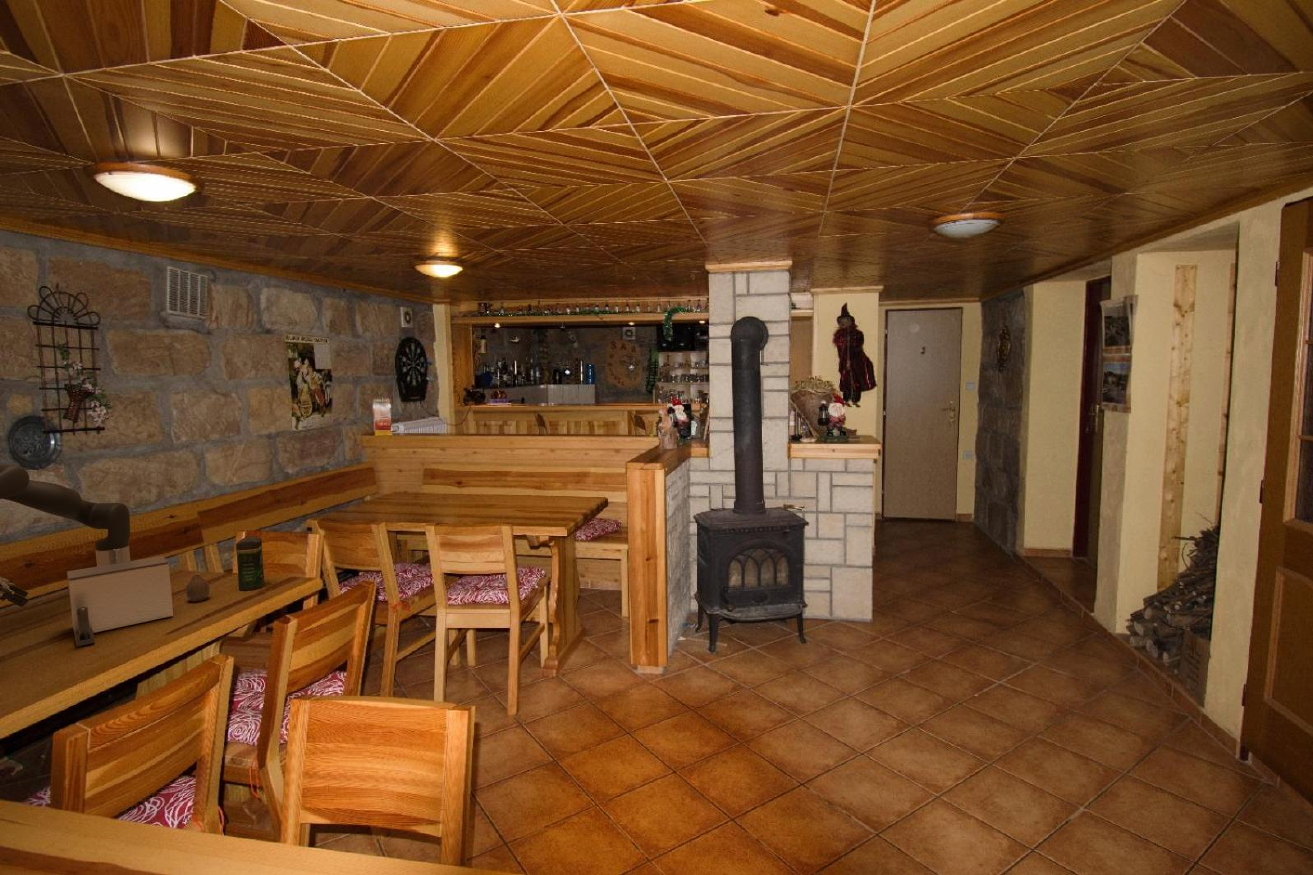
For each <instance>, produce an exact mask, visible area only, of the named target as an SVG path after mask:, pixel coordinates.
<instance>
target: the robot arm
mask: <svg viewBox="0 0 1313 875" xmlns="http://www.w3.org/2000/svg"><path fill="white" fill-rule="evenodd" d="M0 500H6V501H11V502H14V503H17V504H19V505H22V506H26V507H28V508H32V509H35V510H38V511H40V512H42V513H46V514H50V515H53V516H57V517H61V518H64V519H69V520H73V521H76V522H78V523H80V524H82V525H84V526H86V527H89V528H92V529H95V530H107V536H105V537H104V538H100V539H98V540H97V541H96V542H94V543H95V544H94V548H95V557H96V567H98V566H104V565H110V564H116V563H122V562H129V561H131V555H130V554H131V553H130V552H131V551H130V538H131V519H130V518H131V516H130V515H131V514H130V510H129V507H128V506H127V505H126V504H124V503H122V502H92V501H87V500H84V499H82V496H81V495H80V493H78V492H77V491H76V490H74V489H71V488H69V487H67V486H64V485H60V484H57V483H53V482H48V481H47V482H46V481H41V480H32V479H30V475H29V473H28V471H27V470H26V469H25V468H24V467H22V466H20V465H15V464H0ZM27 596H29V592H28V591H26V590H24V589H22V588H21V587H19V586H16V585H15V583H14V582H13V581H12V580H10V579H7V578H6V577H3V576H1V575H0V601H3V602H5V601H8V602H10V603H12V604H13V605H16V606H18V607H21V608H22V607H24V606H25V605H26V604H27V603H28V602H29V599H28V598H27Z"/></svg>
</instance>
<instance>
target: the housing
mask: <svg viewBox="0 0 1313 875" xmlns="http://www.w3.org/2000/svg"><path fill="white" fill-rule="evenodd" d="M163 564H169V562H168V560H167V558H165V556H164V555H161V556H155V557H154V556H153V557H148V558H143V559H136V560H130V561H129V562H122V563H116V564H110V565H104V566H98V567H97V566H93V567H88V568H87V567H86V568H80V569H74V570H68V571H66V574H67V582H68V592H69V594H68V595H69V601H70V611H71V612H70V613H71V620H72V621H71V622H72V623H71V624H72V629H73V631H74V625H73V615H72V605H71V596H70V586H69V580H75V579H81V578H87V577H93V576H99V575H104V574H110V573H116V572H122V571H128V570H134V569H140V568H146V567H152V566H157V565H163ZM73 634H74V633H73ZM74 637H75V634H74Z"/></svg>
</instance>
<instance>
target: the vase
mask: <svg viewBox="0 0 1313 875" xmlns="http://www.w3.org/2000/svg"><path fill="white" fill-rule="evenodd" d="M210 592H211V588H210V584H209V582H208V581H207V580H206V579H205V578H204V577H203V576H202V575H201V574H194V575H192V577H191V579H190V580H189V581H188V582H187V584H186V588H185V595H186V598H187V600H188V601H190V602H193V603H196V602H197V601H198V602H202V600H203V601H205V600H206V599H207V598H208V597H209V595H210Z"/></svg>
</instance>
